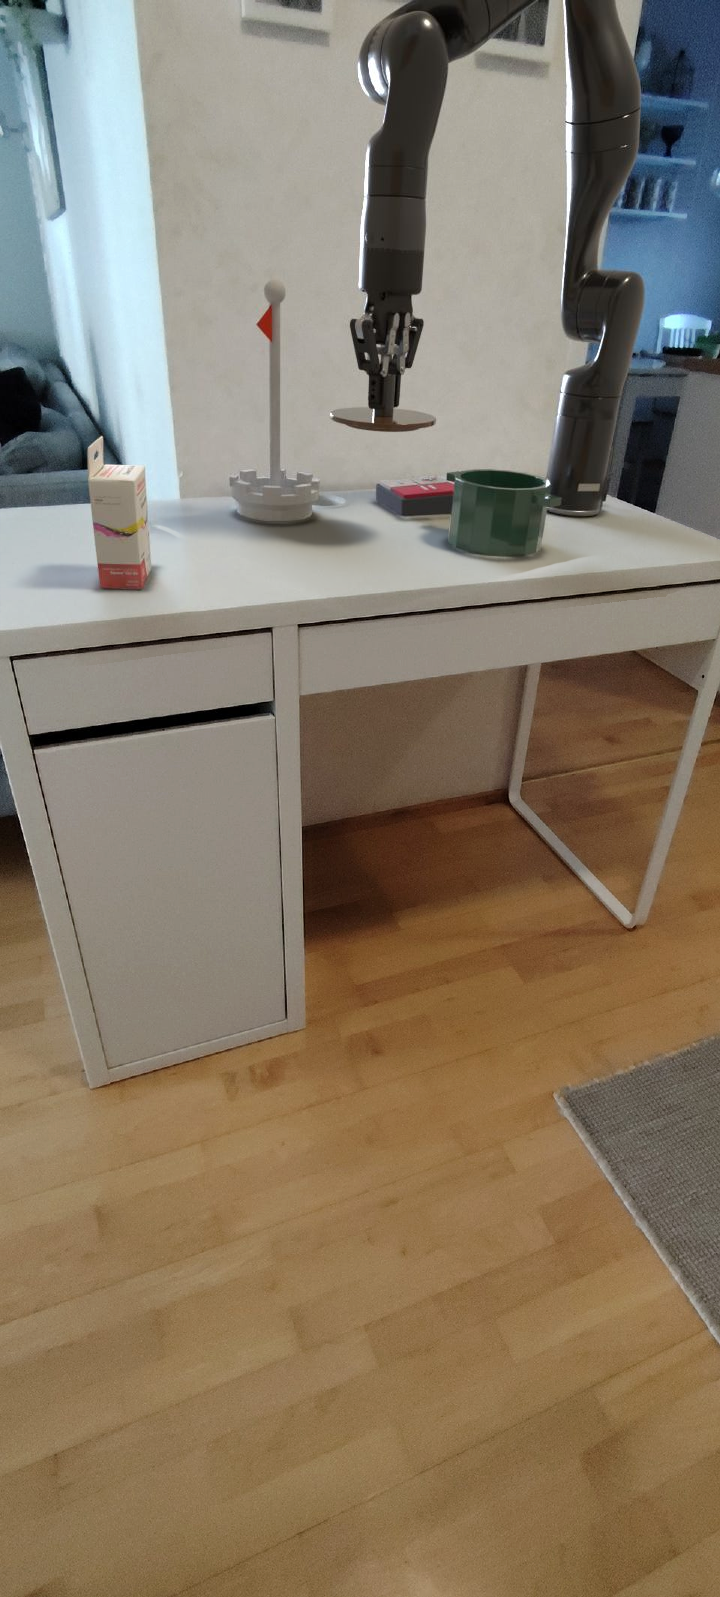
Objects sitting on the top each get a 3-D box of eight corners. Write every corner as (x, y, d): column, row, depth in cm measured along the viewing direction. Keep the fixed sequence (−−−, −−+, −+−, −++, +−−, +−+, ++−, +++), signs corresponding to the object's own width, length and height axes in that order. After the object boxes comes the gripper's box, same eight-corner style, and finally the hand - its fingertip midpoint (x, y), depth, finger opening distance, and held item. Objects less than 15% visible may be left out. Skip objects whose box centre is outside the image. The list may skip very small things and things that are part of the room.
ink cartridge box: (144, 590, 94) (132, 450, 86) (99, 589, 93) (82, 448, 86) (154, 567, 101) (143, 435, 93) (111, 566, 101) (97, 434, 93)
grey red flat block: (375, 478, 133) (460, 471, 138) (374, 506, 135) (458, 498, 140) (403, 494, 124) (492, 486, 129) (402, 524, 127) (490, 514, 131)
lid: (385, 414, 117) (388, 366, 113) (457, 429, 108) (462, 377, 105) (308, 420, 109) (309, 369, 106) (378, 438, 100) (381, 382, 97)
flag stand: (255, 501, 132) (252, 276, 116) (332, 512, 128) (339, 282, 112) (214, 518, 122) (204, 274, 106) (296, 531, 118) (298, 280, 102)
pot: (475, 526, 125) (483, 462, 121) (574, 556, 114) (586, 487, 110) (415, 538, 118) (421, 470, 113) (514, 571, 107) (525, 498, 102)
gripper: (387, 244, 91) (378, 417, 101) (449, 249, 101) (436, 406, 111) (331, 242, 95) (327, 409, 104) (396, 247, 105) (388, 399, 114)
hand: (383, 407), depth 107 cm, fingers closed on lid, 2 cm apart
